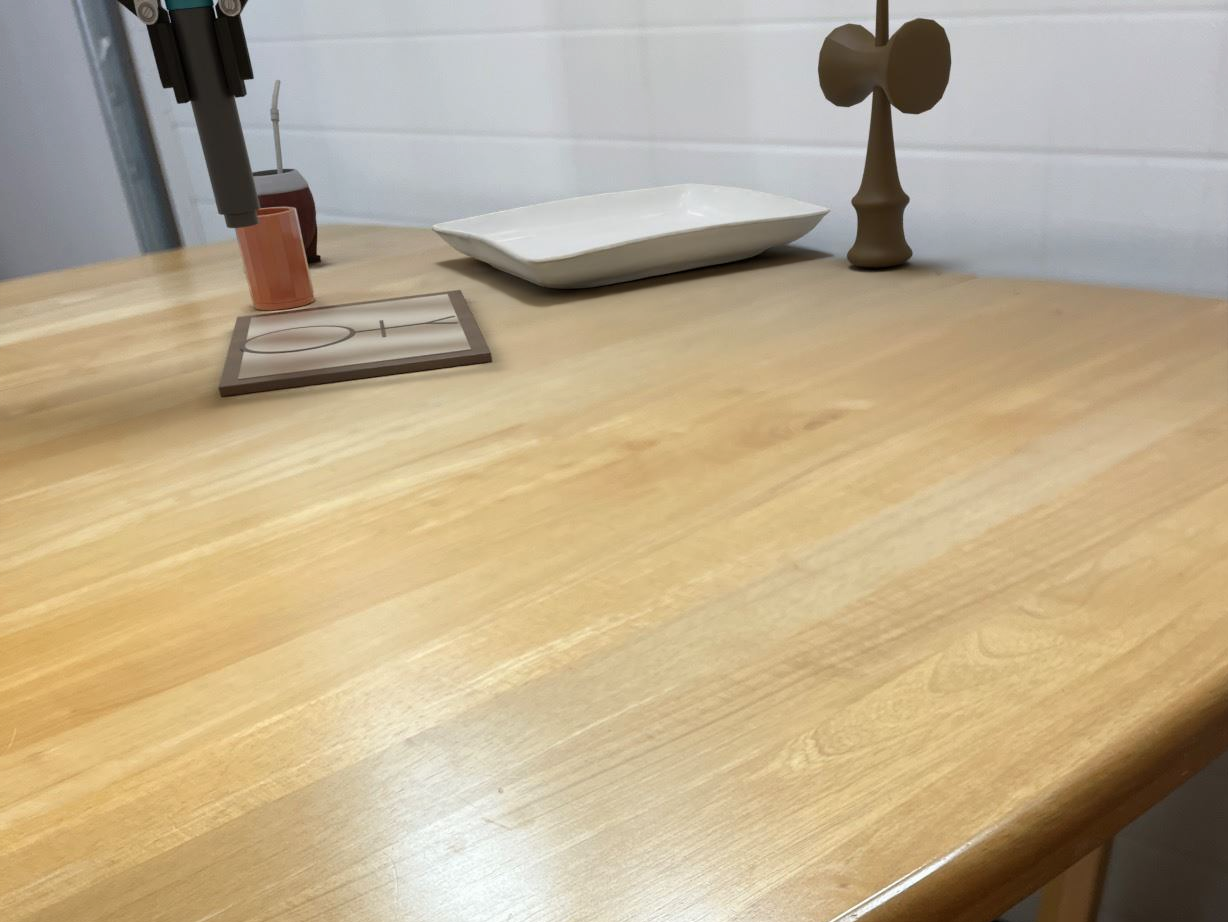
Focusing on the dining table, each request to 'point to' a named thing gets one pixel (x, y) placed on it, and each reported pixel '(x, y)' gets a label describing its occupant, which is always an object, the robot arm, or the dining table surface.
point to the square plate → (631, 233)
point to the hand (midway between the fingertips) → (212, 95)
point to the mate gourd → (288, 189)
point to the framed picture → (351, 342)
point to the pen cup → (275, 260)
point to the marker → (215, 111)
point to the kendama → (884, 115)
